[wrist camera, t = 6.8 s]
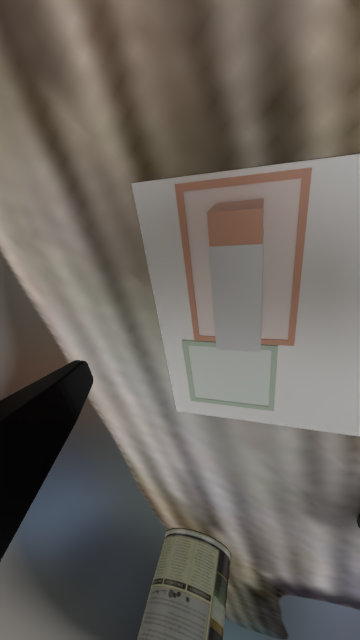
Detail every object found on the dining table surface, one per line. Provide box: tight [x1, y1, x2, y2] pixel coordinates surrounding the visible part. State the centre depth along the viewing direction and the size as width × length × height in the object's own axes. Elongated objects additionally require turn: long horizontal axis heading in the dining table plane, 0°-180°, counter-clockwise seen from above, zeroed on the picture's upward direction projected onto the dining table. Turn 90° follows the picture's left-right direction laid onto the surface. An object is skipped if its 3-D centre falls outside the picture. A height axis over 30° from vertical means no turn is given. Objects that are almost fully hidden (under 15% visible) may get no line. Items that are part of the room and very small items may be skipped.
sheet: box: [131, 153, 360, 436], centre depth 18 cm, size 19×16×1 cm
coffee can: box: [137, 528, 231, 640], centre depth 36 cm, size 10×10×14 cm
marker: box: [207, 199, 264, 352], centre depth 16 cm, size 8×3×3 cm, turn 8°
